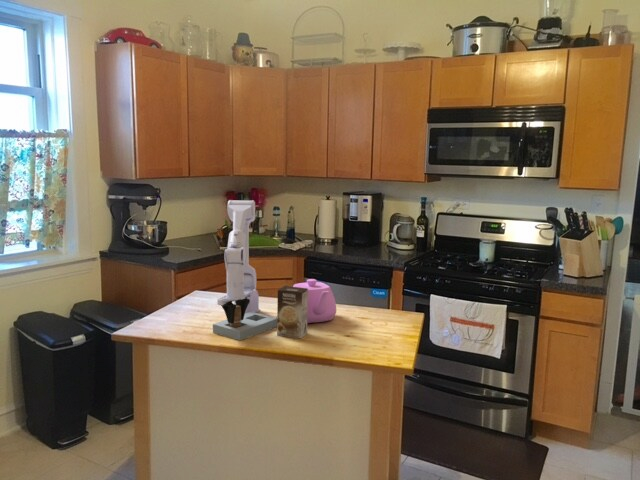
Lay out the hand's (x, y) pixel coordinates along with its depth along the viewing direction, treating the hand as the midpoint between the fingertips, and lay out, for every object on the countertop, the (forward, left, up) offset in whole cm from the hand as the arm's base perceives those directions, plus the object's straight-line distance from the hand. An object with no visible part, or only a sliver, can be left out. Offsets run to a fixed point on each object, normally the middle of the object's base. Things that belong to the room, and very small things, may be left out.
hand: (235, 321), depth 181 cm
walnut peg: (0, 0, -3) cm, 3 cm away
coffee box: (-11, +16, -4) cm, 20 cm away
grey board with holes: (-5, 0, -4) cm, 7 cm away
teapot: (-29, +11, -4) cm, 31 cm away
